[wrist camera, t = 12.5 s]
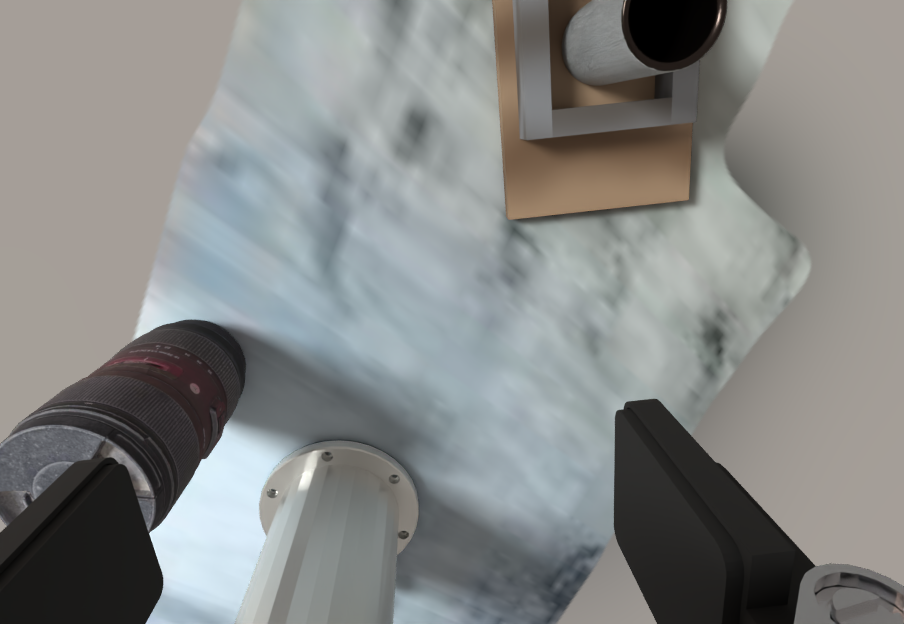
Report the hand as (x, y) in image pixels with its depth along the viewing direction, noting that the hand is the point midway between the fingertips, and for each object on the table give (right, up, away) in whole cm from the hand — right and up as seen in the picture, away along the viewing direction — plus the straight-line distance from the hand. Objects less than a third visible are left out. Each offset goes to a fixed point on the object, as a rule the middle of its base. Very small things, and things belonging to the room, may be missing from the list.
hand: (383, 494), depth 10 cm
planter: (+10, +19, +22) cm, 31 cm away
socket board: (+10, +20, +23) cm, 32 cm away
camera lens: (-17, 0, +29) cm, 33 cm away
